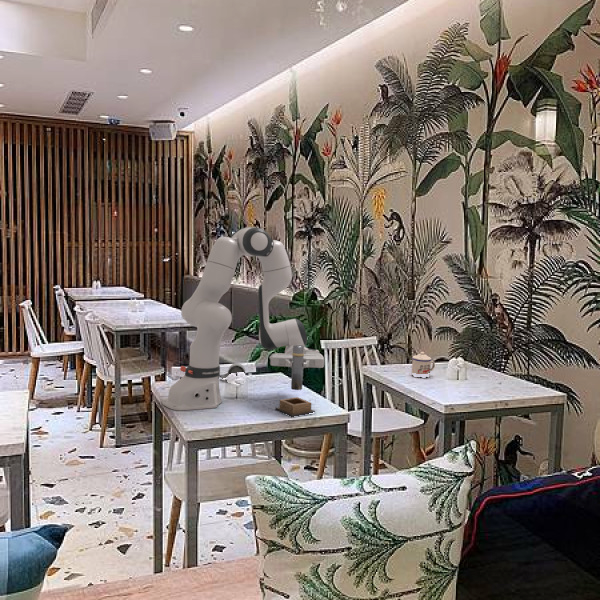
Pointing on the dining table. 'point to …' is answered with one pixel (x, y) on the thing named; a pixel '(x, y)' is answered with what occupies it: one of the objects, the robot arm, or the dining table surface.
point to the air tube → (297, 367)
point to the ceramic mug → (234, 369)
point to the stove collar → (294, 407)
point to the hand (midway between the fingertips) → (297, 365)
